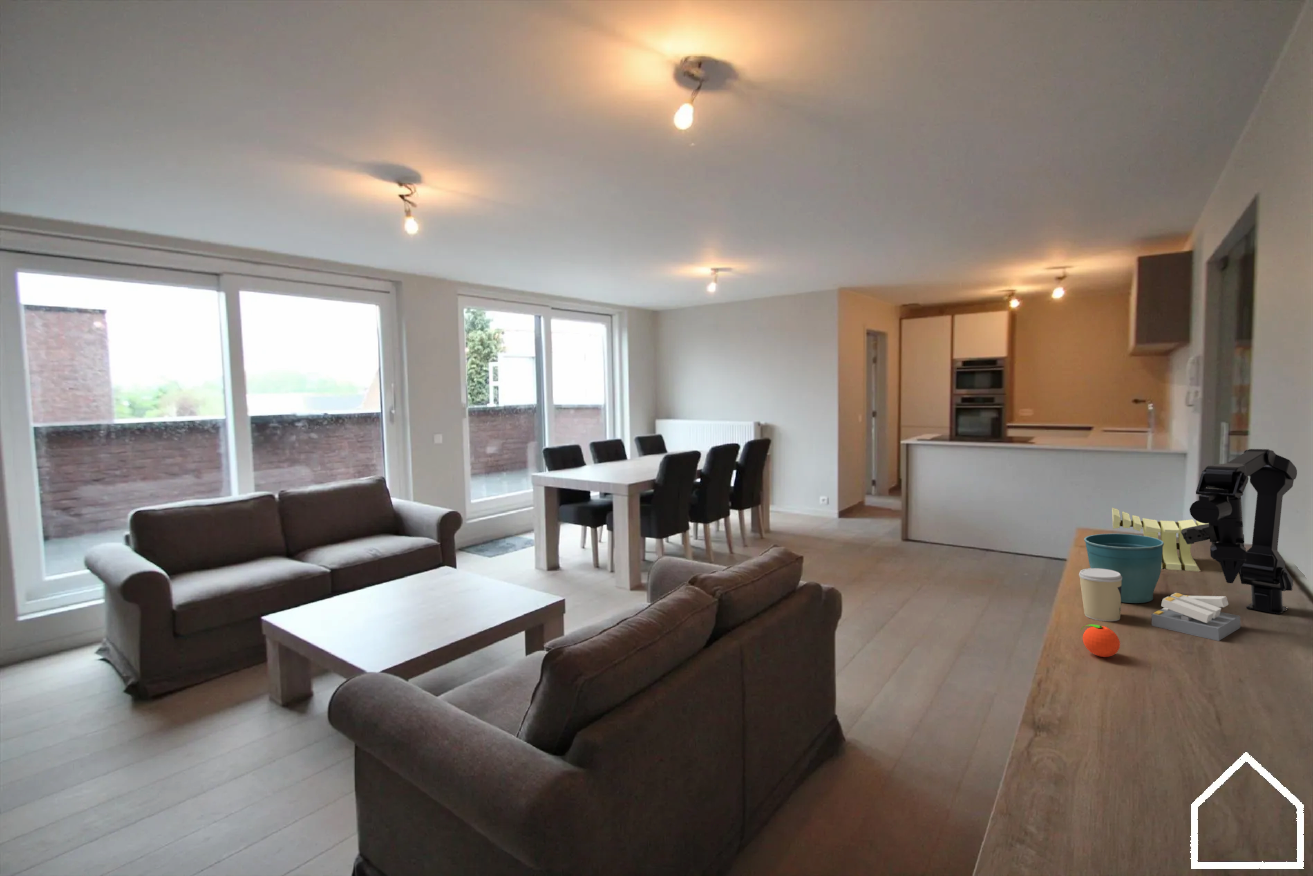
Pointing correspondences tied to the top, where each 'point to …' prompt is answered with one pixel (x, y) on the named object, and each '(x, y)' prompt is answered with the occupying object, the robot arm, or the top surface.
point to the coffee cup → (1101, 593)
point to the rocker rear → (1212, 600)
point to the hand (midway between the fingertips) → (1229, 577)
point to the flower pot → (1128, 562)
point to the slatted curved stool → (1163, 538)
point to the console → (1196, 624)
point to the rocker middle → (1198, 604)
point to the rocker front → (1187, 609)
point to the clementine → (1101, 640)
